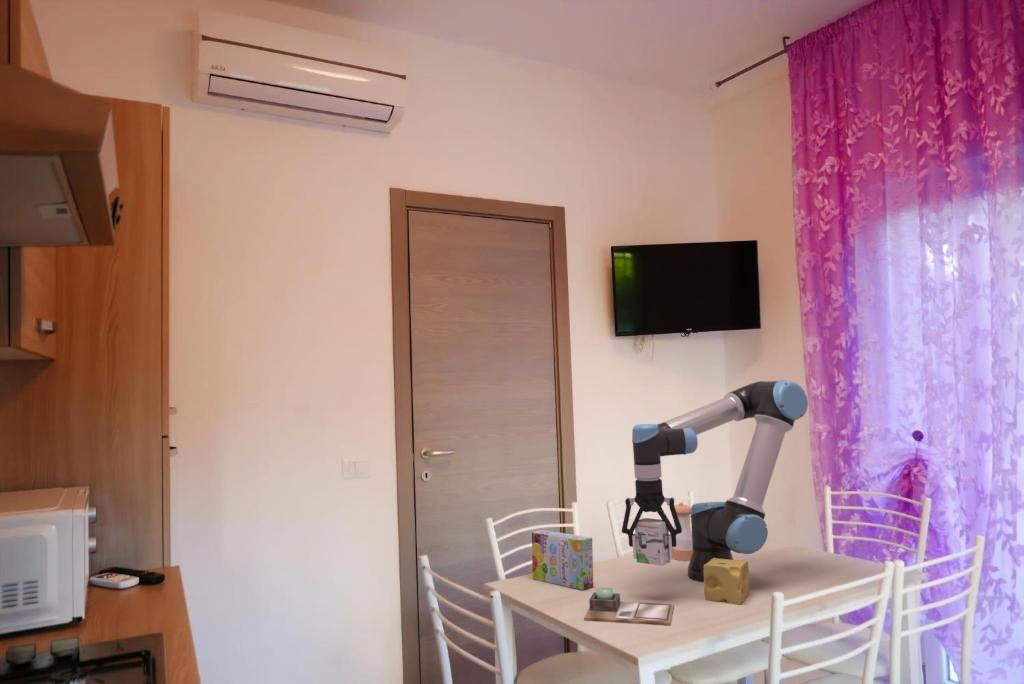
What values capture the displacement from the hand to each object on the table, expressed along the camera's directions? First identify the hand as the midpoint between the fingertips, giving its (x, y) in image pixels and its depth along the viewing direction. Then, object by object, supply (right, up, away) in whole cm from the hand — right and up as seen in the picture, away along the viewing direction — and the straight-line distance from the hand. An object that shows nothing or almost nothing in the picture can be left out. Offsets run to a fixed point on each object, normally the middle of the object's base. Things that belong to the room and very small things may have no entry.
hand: (653, 558), depth 204 cm
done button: (-15, -9, -8) cm, 19 cm away
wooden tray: (-9, -11, -12) cm, 18 cm away
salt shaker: (+20, -14, +46) cm, 52 cm away
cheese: (+21, -11, -1) cm, 23 cm away
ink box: (0, -1, 0) cm, 1 cm away
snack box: (-24, -14, +19) cm, 34 cm away
